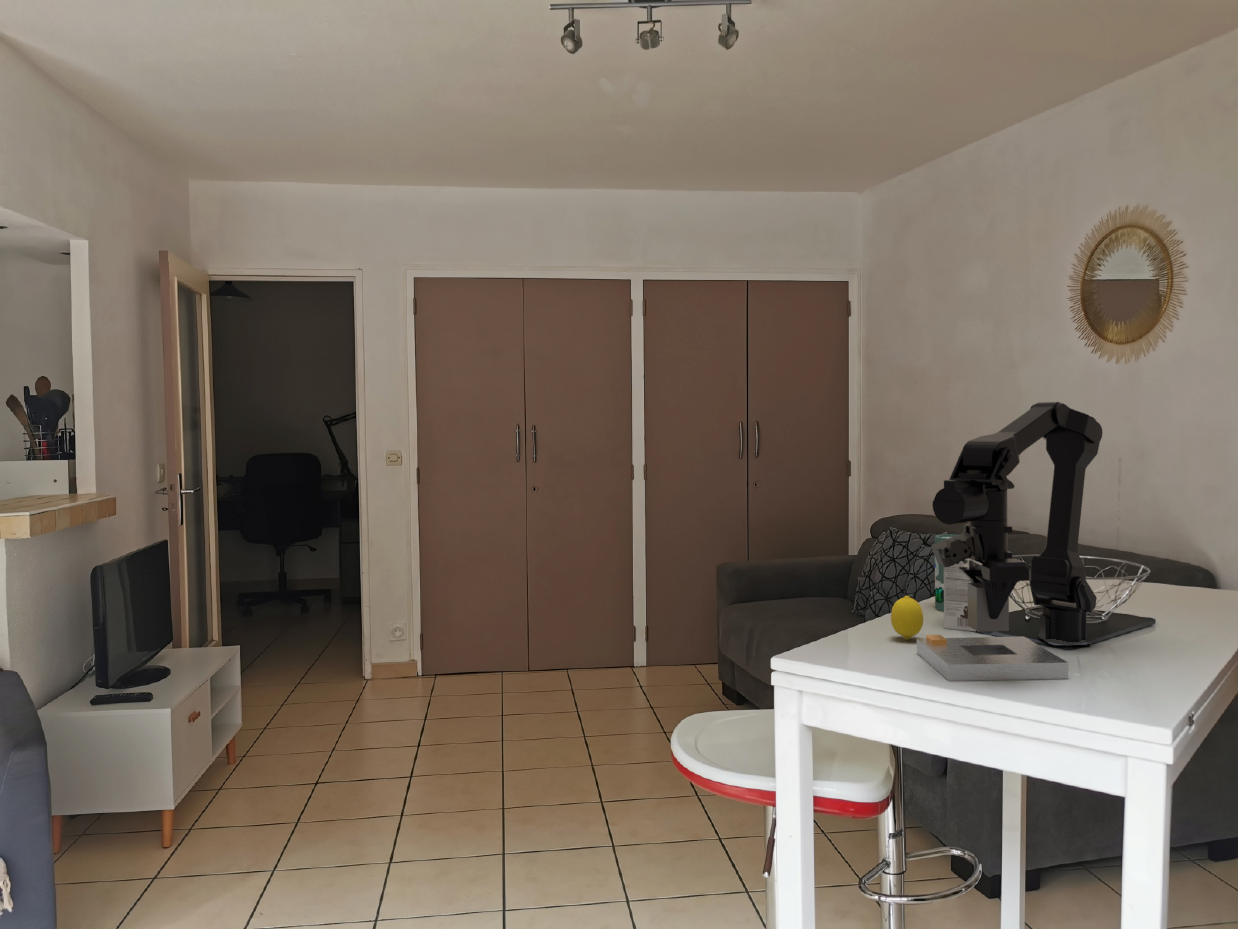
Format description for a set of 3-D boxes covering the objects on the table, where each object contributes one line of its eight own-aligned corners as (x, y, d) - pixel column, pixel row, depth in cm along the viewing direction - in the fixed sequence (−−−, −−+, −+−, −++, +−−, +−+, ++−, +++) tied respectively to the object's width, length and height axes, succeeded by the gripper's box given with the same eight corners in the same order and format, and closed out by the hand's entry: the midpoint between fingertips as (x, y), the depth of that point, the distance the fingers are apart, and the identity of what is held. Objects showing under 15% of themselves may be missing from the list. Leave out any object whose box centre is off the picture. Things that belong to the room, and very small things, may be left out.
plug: (999, 624, 148) (998, 582, 147) (1008, 630, 144) (1008, 587, 143) (967, 625, 148) (967, 583, 147) (976, 631, 144) (976, 587, 143)
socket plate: (1023, 651, 154) (1023, 631, 154) (1068, 678, 138) (1068, 657, 138) (916, 653, 154) (916, 633, 154) (948, 681, 138) (948, 659, 138)
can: (941, 604, 191) (940, 533, 190) (971, 607, 187) (970, 535, 186) (932, 610, 186) (931, 537, 185) (962, 613, 182) (962, 539, 182)
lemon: (925, 644, 160) (925, 599, 159) (892, 643, 161) (892, 598, 161) (921, 636, 165) (921, 592, 165) (889, 635, 166) (889, 592, 166)
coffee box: (953, 618, 178) (953, 537, 177) (988, 621, 175) (988, 539, 174) (943, 628, 171) (942, 543, 170) (979, 632, 167) (978, 545, 166)
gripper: (919, 513, 154) (919, 604, 155) (957, 527, 136) (957, 630, 136) (985, 511, 154) (985, 603, 155) (1032, 525, 135) (1032, 629, 136)
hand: (988, 615), depth 146 cm, fingers closed on plug, 4 cm apart
